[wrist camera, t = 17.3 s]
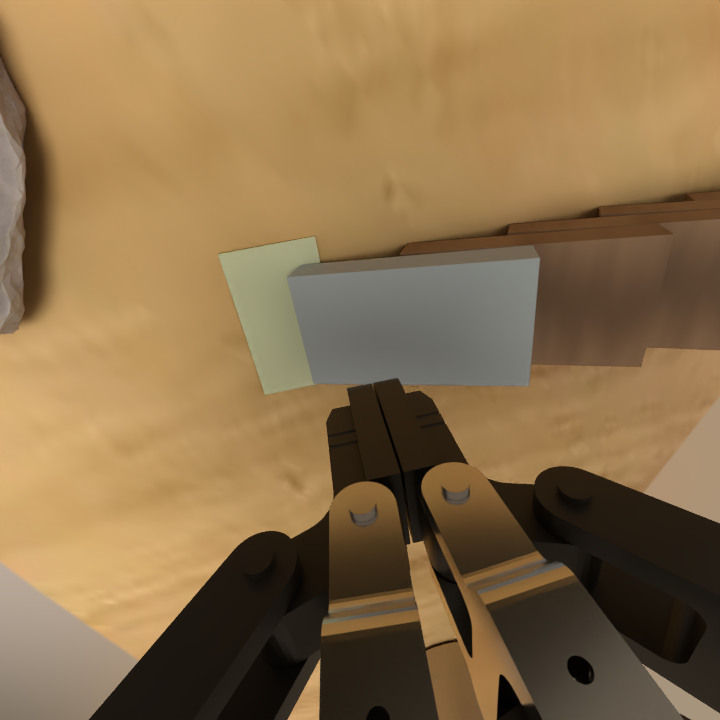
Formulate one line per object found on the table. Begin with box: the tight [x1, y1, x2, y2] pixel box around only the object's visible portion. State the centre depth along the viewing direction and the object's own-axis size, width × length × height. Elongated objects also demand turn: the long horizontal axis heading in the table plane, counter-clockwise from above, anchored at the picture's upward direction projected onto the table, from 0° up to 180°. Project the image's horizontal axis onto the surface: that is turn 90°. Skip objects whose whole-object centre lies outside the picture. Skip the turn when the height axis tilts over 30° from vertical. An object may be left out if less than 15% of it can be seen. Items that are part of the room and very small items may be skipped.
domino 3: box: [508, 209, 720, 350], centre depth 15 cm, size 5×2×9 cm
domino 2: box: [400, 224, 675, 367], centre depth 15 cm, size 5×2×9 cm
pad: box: [218, 236, 320, 395], centre depth 17 cm, size 7×4×1 cm, turn 9°
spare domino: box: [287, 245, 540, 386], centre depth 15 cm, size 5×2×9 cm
